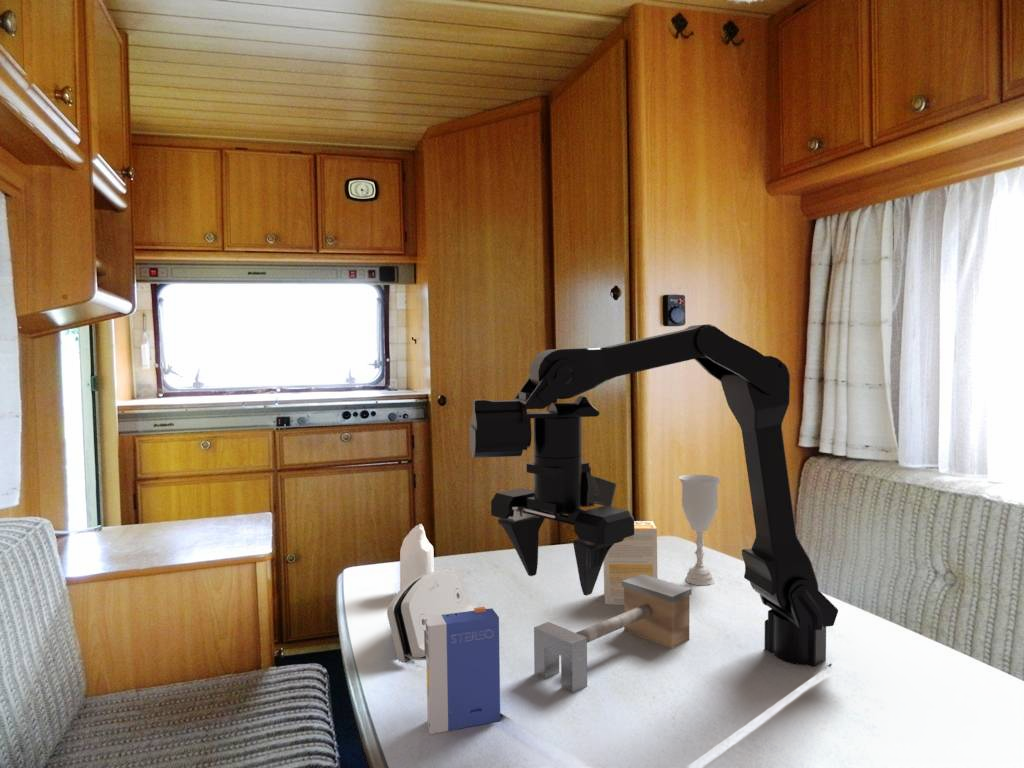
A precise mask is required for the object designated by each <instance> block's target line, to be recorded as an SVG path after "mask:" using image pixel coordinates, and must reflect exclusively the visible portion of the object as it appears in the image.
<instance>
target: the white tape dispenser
mask: <svg viewBox="0 0 1024 768" xmlns="http://www.w3.org/2000/svg"><path fill="white" fill-rule="evenodd" d="M474 608H478V607H477V606H475V605H473V604H472V603H471V600H470V598H469V596H468V593H467V591H466V589H465V586H464V584H463V581H462V580H461V577H460V575H459V573H458V571H457V570H453V569H451V570H450V569H449V570H447V569H446V570H443V569H442V570H434V572H432V573H428V574H424V575H422V576H420V577H418V578H416V579H414V580H413V581H411V582H409V583H408V584H407V585H405V586H404V587H403V588H402V589H401V590H398V592H397V594H396V595H395V596H394V597H393V598H392V600H391V602H390V604H389V605H388V607H387V610H386V615H387V619H388V623H389V627H390V632H391V636H392V639H393V644H394V649H395V652H396V656H397V657H396V658H397V661H398V660H399V661H398V662H400V661H401V663H402V662H406V661H407V660H409V657H408V656H406V655H410V656H411V657H412V658H423V657H426V655H425V649H424V631H426V617H429V616H436V615H444V614H451V613H459V612H467V611H474Z"/></svg>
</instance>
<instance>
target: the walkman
mask: <svg viewBox="0 0 1024 768" xmlns="http://www.w3.org/2000/svg"><path fill="white" fill-rule="evenodd" d="M424 649H425V655H426V656H425V659H426V661H425V662H426V665H425V666H426V704H427V705H426V707H427V708H426V711H427V712H426V713H427V728H428V729H427V730H428V732H429V735H434V734H439V733H444V732H449V731H455V730H460V729H465V728H466V729H467V728H470V727H476V726H480V725H481V726H482V725H486V724H492V723H496V722H501V681H500V680H501V675H500V674H501V673H500V669H501V667H500V666H501V664H500V662H501V661H500V616H499V615H498V614H497V613H496V611H495V610H494V608H486V607H485V606H478V607H477V608H474V611H467V612H459V613H451V614H444V615H436V616H429V617H426V631H424Z"/></svg>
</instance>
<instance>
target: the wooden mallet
mask: <svg viewBox="0 0 1024 768" xmlns="http://www.w3.org/2000/svg"><path fill="white" fill-rule="evenodd" d="M622 587H624V605H623V609H624V610H623V613H621V614H618V615H615V616H613V617H610V618H608V619H606V620H603V621H601V622H599V623H596V624H593V625H591V626H589V627H586V628H583V629H581V630H578V631H577V632H575V633H577V634H579V635H582V636H584V637H587V644H589V643H590V642H593V641H594V640H597V639H600V638H601V637H604V636H606V635H608V634H611V633H613V632H615V631H618V630H620V629H622V628H623V629H624V630H623V631H625V632H628V633H630V634H633V635H635V636H638V637H641V638H643V639H646V640H649V641H651V642H654V643H657V644H659V645H662V646H664V647H667V648H669V649H674V648H677V647H678V646H680V645H682V644H684V643H686V642H687V641H690V596H691V595H692V594H693V593H692V588H691V587H687V586H685V585H684V586H683V585H681V584H677V583H674V582H671V581H667V580H664V579H661V578H658V579H657V578H654V577H650V576H647V575H643V574H640V575H637V576H635V577H632V578H629V579H626V580H623V581H622Z"/></svg>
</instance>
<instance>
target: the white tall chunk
mask: <svg viewBox="0 0 1024 768" xmlns="http://www.w3.org/2000/svg"><path fill="white" fill-rule="evenodd" d="M408 532H409V533H408V534H407V535H406V536H405V537H404V539H403V541H402V544H401V547H400V551H399V553H400V554H399V555H400V556H399V557H400V559H399V581H400V582H399V589H400V590H401V589H402V588H403V587H404V586H405V585H407V584H408V583H409V582H411V581H413V580H414V579H416V578H418V577H420V576H422V575H424V574H428V573H432V572H435V567H434V566H435V565H434V563H435V562H434V561H435V560H434V559H435V557H434V556H435V555H434V550H435V549H434V546H433V545H432V544H431V543H430V541H429V539H428V538H427V536H426V531H425V528H424V526H423V524H422V523H419V524H418V525H415V526H414V527H413V528H411V530H410V531H408ZM400 590H399V591H400Z"/></svg>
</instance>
